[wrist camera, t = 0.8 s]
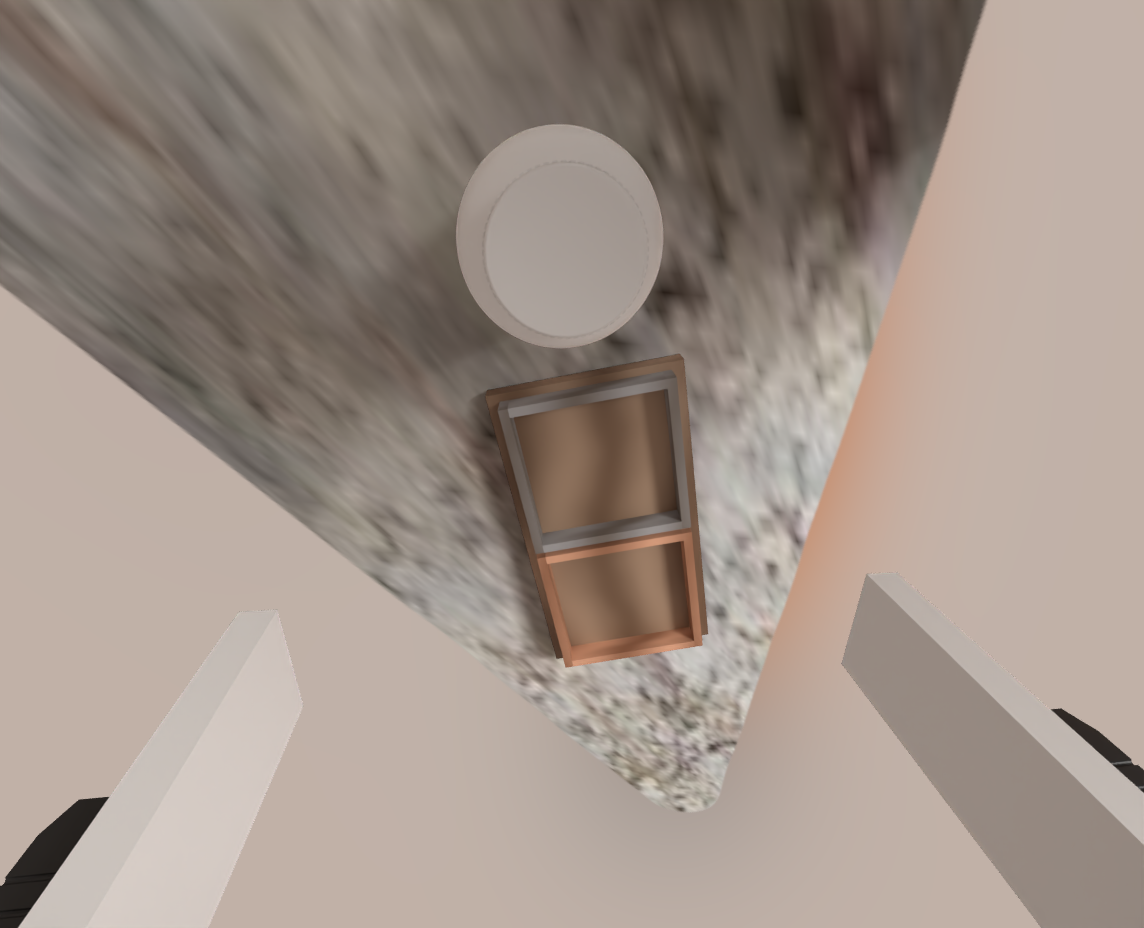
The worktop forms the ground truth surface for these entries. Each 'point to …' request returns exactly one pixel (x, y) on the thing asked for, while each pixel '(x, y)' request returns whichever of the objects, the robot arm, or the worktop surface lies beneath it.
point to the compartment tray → (607, 507)
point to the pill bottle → (559, 236)
